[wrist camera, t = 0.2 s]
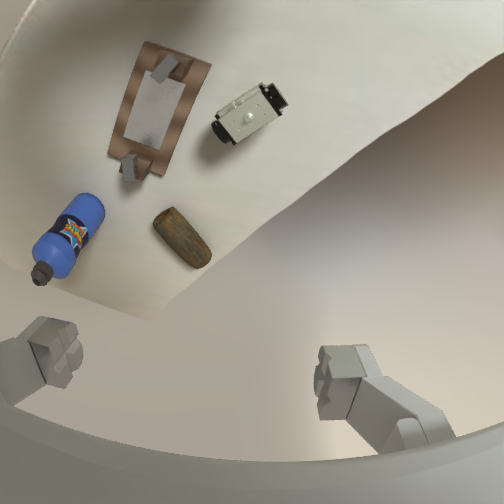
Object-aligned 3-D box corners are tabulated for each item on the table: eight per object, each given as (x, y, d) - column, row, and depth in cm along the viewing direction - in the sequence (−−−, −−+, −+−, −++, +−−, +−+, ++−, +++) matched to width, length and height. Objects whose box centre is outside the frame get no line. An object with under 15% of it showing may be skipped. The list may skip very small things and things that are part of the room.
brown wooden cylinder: (153, 215, 67) (144, 232, 62) (175, 199, 64) (167, 215, 59) (195, 258, 75) (190, 277, 69) (218, 246, 72) (214, 265, 67)
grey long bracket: (156, 44, 43) (142, 46, 37) (197, 59, 45) (188, 61, 39) (117, 158, 57) (102, 173, 51) (152, 171, 59) (140, 188, 53)
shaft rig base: (147, 41, 43) (133, 42, 38) (212, 64, 47) (205, 66, 42) (110, 151, 57) (96, 163, 52) (165, 172, 60) (156, 187, 55)
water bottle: (89, 185, 62) (30, 256, 43) (112, 216, 67) (64, 292, 48) (66, 203, 65) (10, 272, 46) (88, 231, 70) (42, 304, 51)
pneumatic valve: (285, 97, 50) (291, 111, 41) (232, 130, 55) (225, 153, 45) (268, 72, 48) (269, 80, 38) (214, 108, 52) (202, 125, 43)
